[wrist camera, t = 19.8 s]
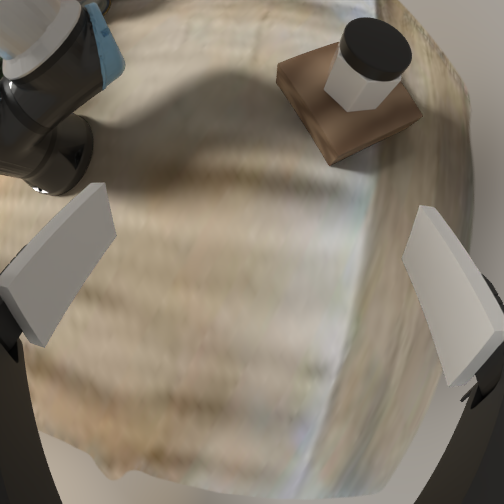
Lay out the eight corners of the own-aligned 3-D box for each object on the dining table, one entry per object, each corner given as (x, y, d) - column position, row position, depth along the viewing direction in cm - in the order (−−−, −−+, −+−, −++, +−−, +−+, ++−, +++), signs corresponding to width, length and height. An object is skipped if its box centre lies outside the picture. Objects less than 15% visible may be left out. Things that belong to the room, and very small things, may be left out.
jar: (391, 95, 37) (427, 56, 25) (357, 124, 37) (389, 87, 25) (347, 54, 37) (369, 6, 25) (311, 80, 37) (326, 31, 25)
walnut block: (276, 82, 43) (277, 63, 37) (355, 52, 42) (364, 34, 36) (329, 166, 44) (338, 156, 38) (407, 128, 43) (423, 116, 37)
